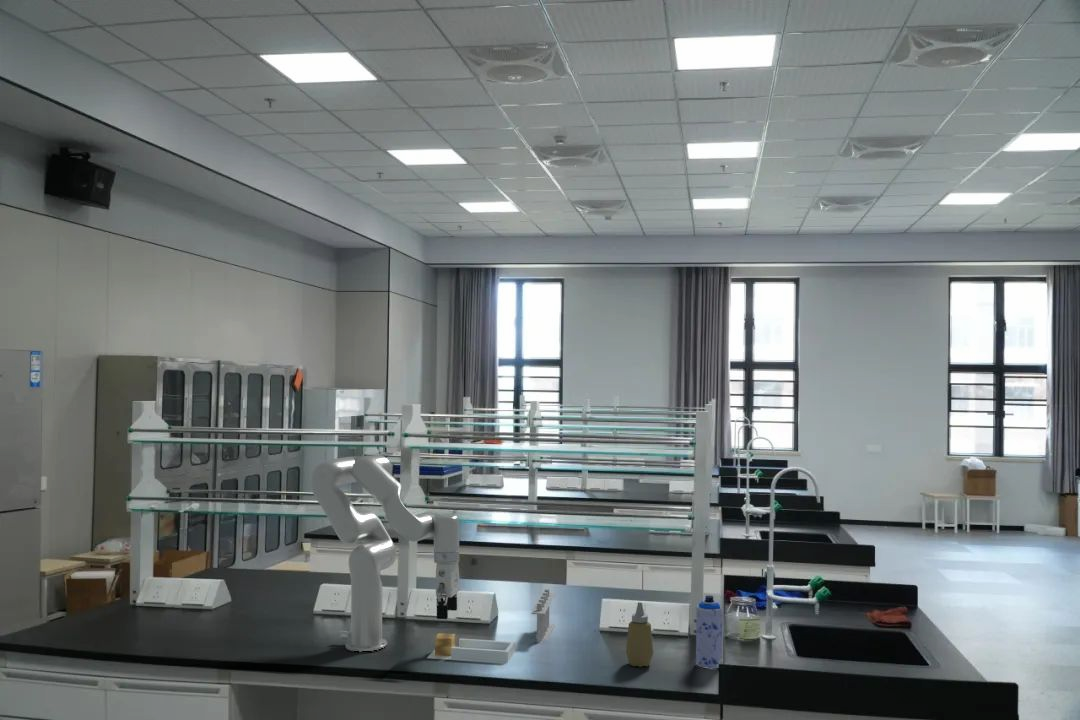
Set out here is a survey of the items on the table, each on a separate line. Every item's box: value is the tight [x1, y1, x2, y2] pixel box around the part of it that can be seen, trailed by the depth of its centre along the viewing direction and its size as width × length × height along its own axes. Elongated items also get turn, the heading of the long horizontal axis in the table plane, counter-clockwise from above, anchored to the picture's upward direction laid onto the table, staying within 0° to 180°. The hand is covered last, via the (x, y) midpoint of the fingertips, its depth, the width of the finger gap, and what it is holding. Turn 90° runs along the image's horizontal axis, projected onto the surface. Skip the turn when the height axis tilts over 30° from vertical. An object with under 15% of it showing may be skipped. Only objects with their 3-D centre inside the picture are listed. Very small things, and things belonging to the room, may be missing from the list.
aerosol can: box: [695, 595, 723, 668], centre depth 257 cm, size 8×8×20 cm
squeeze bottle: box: [625, 601, 654, 668], centre depth 256 cm, size 8×8×18 cm
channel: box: [426, 637, 516, 665], centre depth 259 cm, size 24×12×4 cm, turn 79°
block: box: [434, 632, 456, 656], centre depth 260 cm, size 5×5×5 cm
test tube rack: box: [530, 588, 556, 644], centre depth 283 cm, size 25×4×13 cm, turn 172°
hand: (447, 614), depth 261 cm, fingers open, 9 cm apart
